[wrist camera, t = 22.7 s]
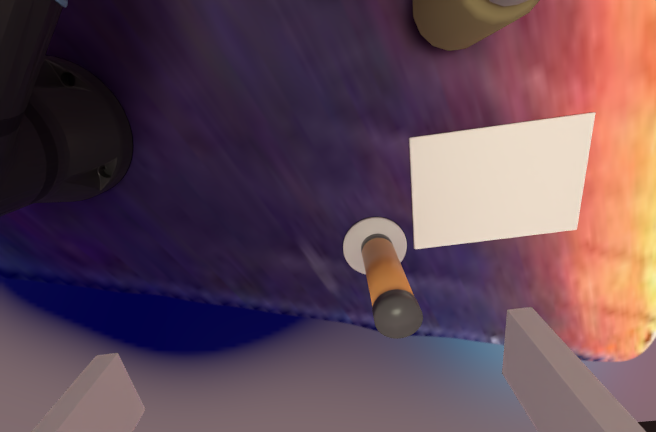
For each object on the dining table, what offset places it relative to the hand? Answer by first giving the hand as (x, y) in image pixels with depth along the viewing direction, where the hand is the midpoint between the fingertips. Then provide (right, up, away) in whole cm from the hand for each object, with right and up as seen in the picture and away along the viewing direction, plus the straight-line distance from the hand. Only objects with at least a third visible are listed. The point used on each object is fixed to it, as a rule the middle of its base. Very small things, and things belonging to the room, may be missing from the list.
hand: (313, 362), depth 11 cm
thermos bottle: (+7, +1, +30) cm, 31 cm away
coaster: (+6, +1, +30) cm, 31 cm away
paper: (+21, +9, +27) cm, 35 cm away
